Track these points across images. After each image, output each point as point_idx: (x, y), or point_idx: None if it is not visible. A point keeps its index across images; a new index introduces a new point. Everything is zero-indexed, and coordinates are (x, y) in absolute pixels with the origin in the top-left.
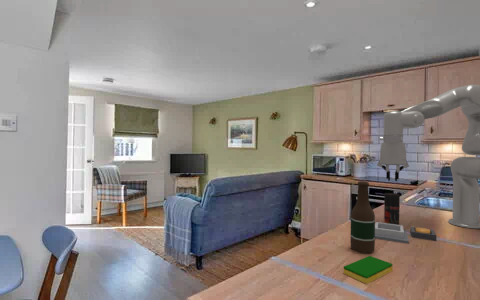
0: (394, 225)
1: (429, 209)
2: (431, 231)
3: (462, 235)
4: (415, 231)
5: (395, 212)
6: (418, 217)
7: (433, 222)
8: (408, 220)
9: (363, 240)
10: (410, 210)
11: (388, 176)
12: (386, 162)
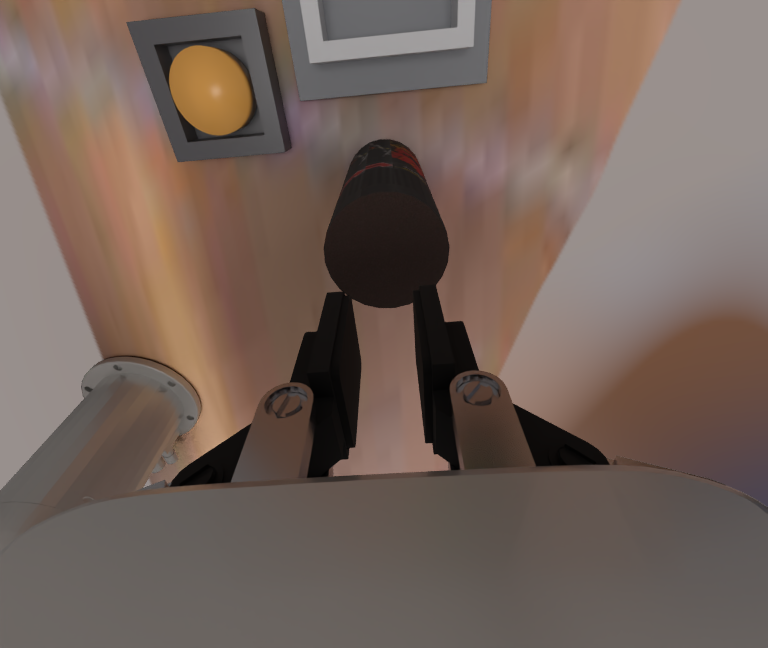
0: (356, 39)
1: None
2: (173, 108)
3: (99, 233)
4: (251, 86)
5: (358, 167)
6: None
7: (243, 371)
8: None
9: None
10: None
11: (438, 313)
12: (586, 527)
